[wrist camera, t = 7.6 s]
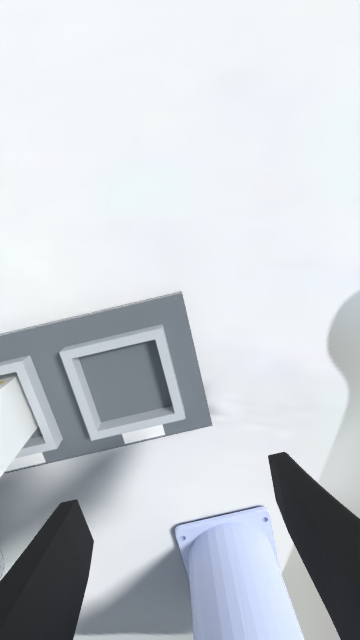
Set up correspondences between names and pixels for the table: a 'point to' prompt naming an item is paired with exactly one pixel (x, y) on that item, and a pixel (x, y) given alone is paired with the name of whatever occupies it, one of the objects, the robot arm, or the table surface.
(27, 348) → the panel
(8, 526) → the table surface
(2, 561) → the coffee cup
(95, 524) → the table surface
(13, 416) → the plug
